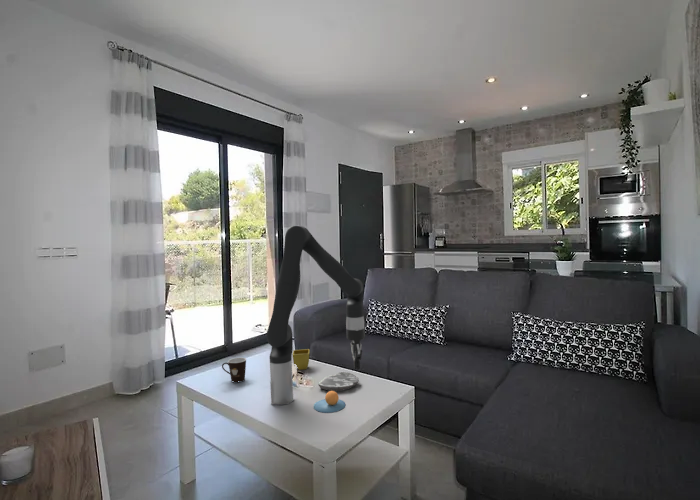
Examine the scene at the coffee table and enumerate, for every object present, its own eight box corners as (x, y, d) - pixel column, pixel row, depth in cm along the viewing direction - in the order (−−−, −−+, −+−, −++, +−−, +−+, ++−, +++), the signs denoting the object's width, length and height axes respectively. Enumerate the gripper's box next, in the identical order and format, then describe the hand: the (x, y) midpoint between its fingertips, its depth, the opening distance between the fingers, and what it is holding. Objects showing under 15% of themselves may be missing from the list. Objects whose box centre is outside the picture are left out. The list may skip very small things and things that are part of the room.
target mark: (314, 414, 148) (314, 413, 148) (312, 400, 161) (312, 400, 161) (347, 410, 150) (347, 410, 150) (342, 397, 163) (342, 397, 163)
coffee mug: (250, 378, 190) (249, 358, 190) (237, 384, 183) (236, 364, 183) (234, 375, 196) (234, 355, 196) (221, 380, 189) (220, 360, 189)
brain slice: (343, 397, 164) (343, 390, 164) (312, 390, 174) (312, 383, 173) (367, 382, 180) (366, 376, 180) (337, 376, 190) (337, 370, 190)
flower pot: (294, 366, 207) (293, 349, 207) (310, 365, 208) (309, 348, 208) (293, 371, 198) (292, 354, 198) (309, 370, 199) (309, 353, 199)
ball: (325, 391, 154) (339, 394, 153) (327, 388, 159) (340, 390, 159) (323, 405, 153) (336, 408, 153) (324, 401, 159) (337, 404, 158)
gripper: (343, 324, 163) (345, 364, 163) (349, 331, 150) (350, 375, 150) (361, 323, 164) (362, 363, 164) (367, 330, 151) (369, 373, 151)
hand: (357, 368), depth 157 cm, fingers closed
